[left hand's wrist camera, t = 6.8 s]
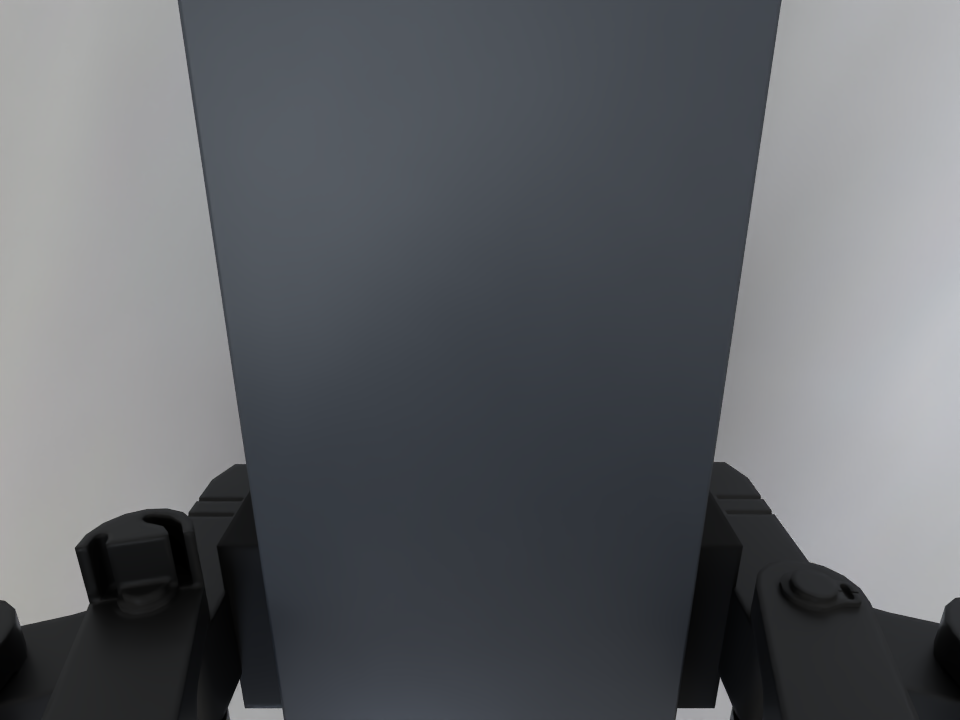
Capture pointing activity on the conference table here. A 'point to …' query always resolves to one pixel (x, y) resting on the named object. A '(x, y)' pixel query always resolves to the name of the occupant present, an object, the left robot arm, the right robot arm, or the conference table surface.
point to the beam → (479, 334)
